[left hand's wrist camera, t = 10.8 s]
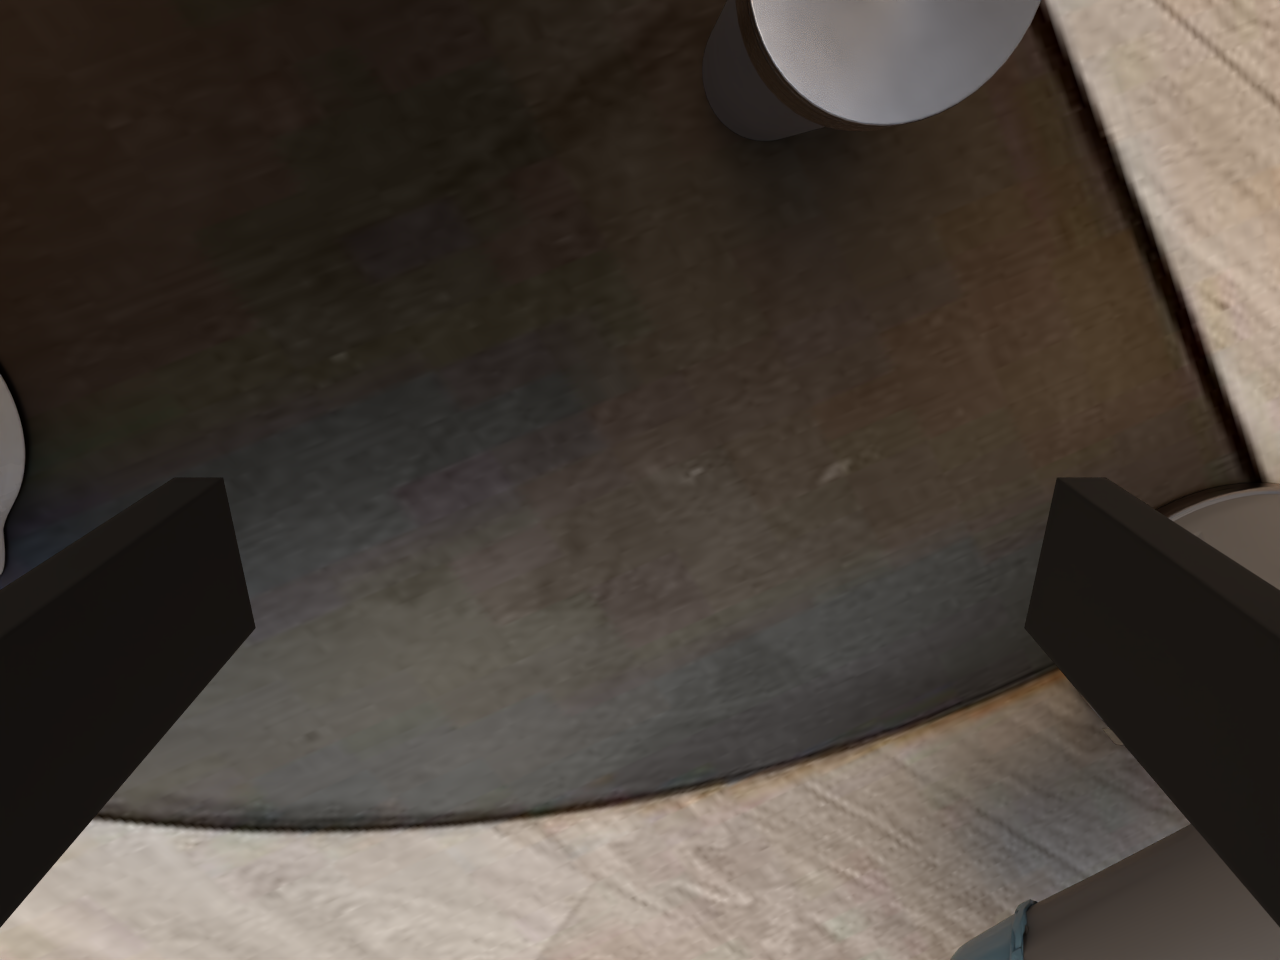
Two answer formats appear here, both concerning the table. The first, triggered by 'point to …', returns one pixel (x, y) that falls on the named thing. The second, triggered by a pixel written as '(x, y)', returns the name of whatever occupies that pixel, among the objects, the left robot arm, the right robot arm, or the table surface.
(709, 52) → the jar
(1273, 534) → the left robot arm
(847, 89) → the lid
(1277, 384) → the table surface
